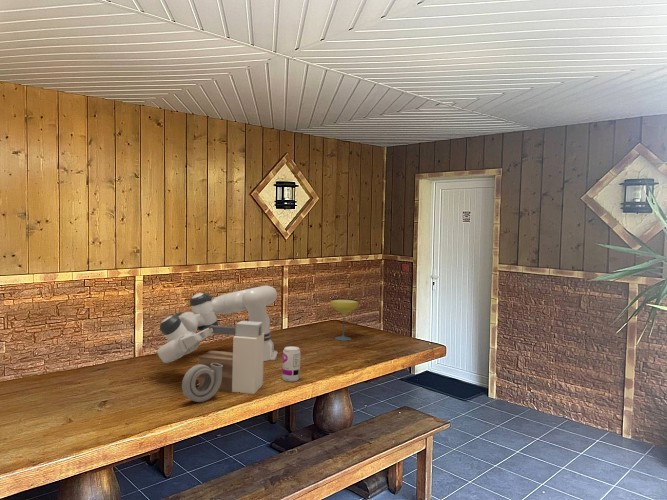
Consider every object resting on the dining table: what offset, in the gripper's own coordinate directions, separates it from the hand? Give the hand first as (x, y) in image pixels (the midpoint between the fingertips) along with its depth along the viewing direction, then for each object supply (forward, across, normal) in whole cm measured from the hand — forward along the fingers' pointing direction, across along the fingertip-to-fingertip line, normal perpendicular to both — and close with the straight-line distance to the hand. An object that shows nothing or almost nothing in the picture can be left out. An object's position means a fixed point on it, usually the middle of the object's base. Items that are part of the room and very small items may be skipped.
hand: (215, 328), depth 225 cm
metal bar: (+6, 0, -6) cm, 8 cm away
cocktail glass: (+23, -108, -44) cm, 119 cm away
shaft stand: (+1, 0, -30) cm, 30 cm away
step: (-10, 0, -24) cm, 26 cm away
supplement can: (+13, -18, -38) cm, 44 cm away
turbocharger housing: (-11, +18, -24) cm, 32 cm away
